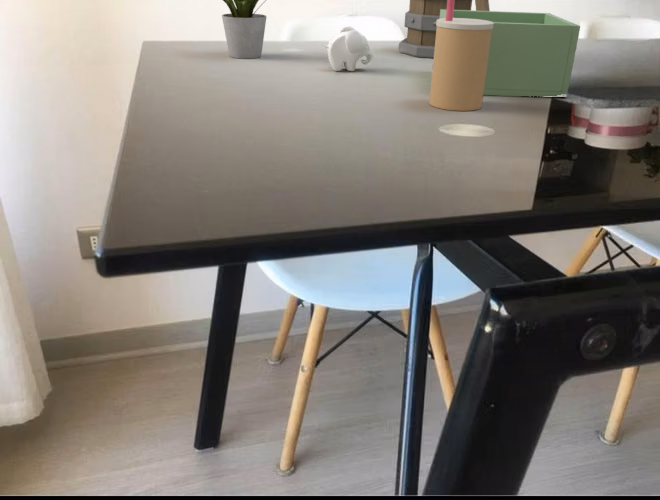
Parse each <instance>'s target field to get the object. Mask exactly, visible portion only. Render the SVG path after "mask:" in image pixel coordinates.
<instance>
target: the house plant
mask: <svg viewBox="0 0 660 500" xmlns="http://www.w3.org/2000/svg"><path fill="white" fill-rule="evenodd" d="M222 1H223V2H224V3H225V4H226V6H227V8H228V9H229V11H230V13H224V14H221V19H222V24H223V29H224V34H225V39H226V45H227V49H228V50H227V51H228V54H229V55H228V56H229V57H230V58H234V59H257V58H261V57H262V53H263V46H264V39H265V31H266V24H267V15H265V14H262V13H261V14H260V13H257V11H258V9H260V7H257V8H256V6H257V4H258V2H259V1H260V0H222ZM266 1H267V0H264V1H263V2H262V3H261V4H260V6H262V5H263V4H264V3H266ZM255 8H256V10H255ZM254 10H255V11H254Z"/></svg>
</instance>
